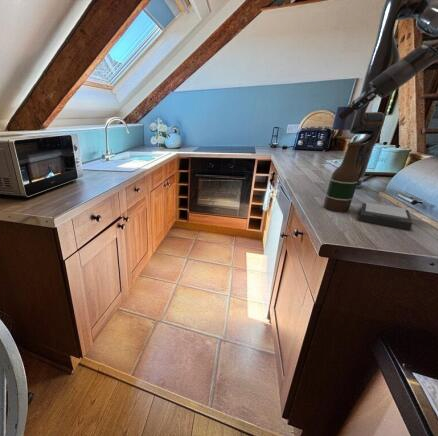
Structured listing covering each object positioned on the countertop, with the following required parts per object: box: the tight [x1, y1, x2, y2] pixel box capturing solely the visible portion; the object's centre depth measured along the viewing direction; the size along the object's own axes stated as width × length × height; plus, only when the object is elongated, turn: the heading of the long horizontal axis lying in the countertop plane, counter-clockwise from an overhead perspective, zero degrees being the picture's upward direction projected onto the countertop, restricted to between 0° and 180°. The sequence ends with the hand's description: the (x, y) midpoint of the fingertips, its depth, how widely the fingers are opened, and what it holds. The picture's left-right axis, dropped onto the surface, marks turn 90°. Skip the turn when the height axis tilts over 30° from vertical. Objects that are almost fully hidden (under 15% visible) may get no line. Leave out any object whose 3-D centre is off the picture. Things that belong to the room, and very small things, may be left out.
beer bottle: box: [323, 141, 361, 213], centre depth 87 cm, size 8×8×24 cm
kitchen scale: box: [358, 202, 413, 231], centre depth 81 cm, size 14×12×3 cm
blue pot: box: [331, 106, 357, 131], centre depth 92 cm, size 6×6×8 cm
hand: (339, 117), depth 93 cm, fingers closed on blue pot, 6 cm apart
